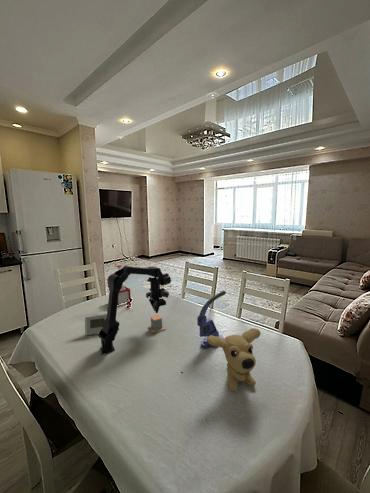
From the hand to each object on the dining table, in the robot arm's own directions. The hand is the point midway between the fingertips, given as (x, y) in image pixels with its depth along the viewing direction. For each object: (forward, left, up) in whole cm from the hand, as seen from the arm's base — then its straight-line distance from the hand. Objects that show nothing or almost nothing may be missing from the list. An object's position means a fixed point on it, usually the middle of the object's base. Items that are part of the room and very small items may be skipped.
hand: (156, 311), depth 143 cm
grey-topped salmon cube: (0, 0, -10) cm, 10 cm away
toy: (-59, -13, -11) cm, 61 cm away
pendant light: (+54, +9, -11) cm, 56 cm away
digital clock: (+14, +32, -11) cm, 36 cm away
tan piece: (0, 0, -11) cm, 11 cm away
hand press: (-30, -21, -11) cm, 38 cm away
